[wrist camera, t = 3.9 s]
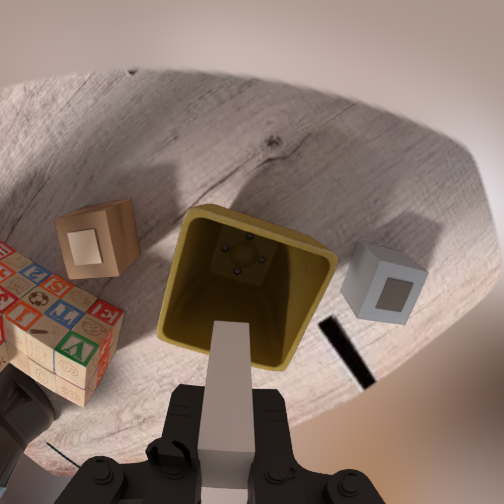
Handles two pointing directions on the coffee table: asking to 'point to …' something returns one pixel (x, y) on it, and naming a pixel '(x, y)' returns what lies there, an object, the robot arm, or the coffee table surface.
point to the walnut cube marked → (98, 240)
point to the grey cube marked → (382, 284)
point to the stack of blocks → (54, 328)
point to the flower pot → (243, 284)
